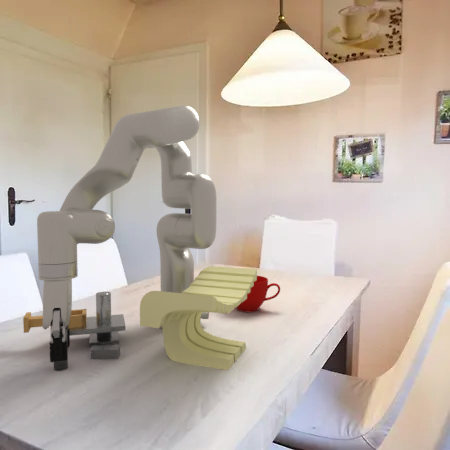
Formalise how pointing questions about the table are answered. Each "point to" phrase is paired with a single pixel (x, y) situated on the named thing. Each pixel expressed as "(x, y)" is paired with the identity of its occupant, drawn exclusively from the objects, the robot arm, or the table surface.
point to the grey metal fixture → (102, 323)
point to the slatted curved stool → (199, 316)
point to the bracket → (30, 321)
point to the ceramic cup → (257, 295)
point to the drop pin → (62, 364)
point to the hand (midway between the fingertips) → (60, 353)
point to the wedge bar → (105, 352)
